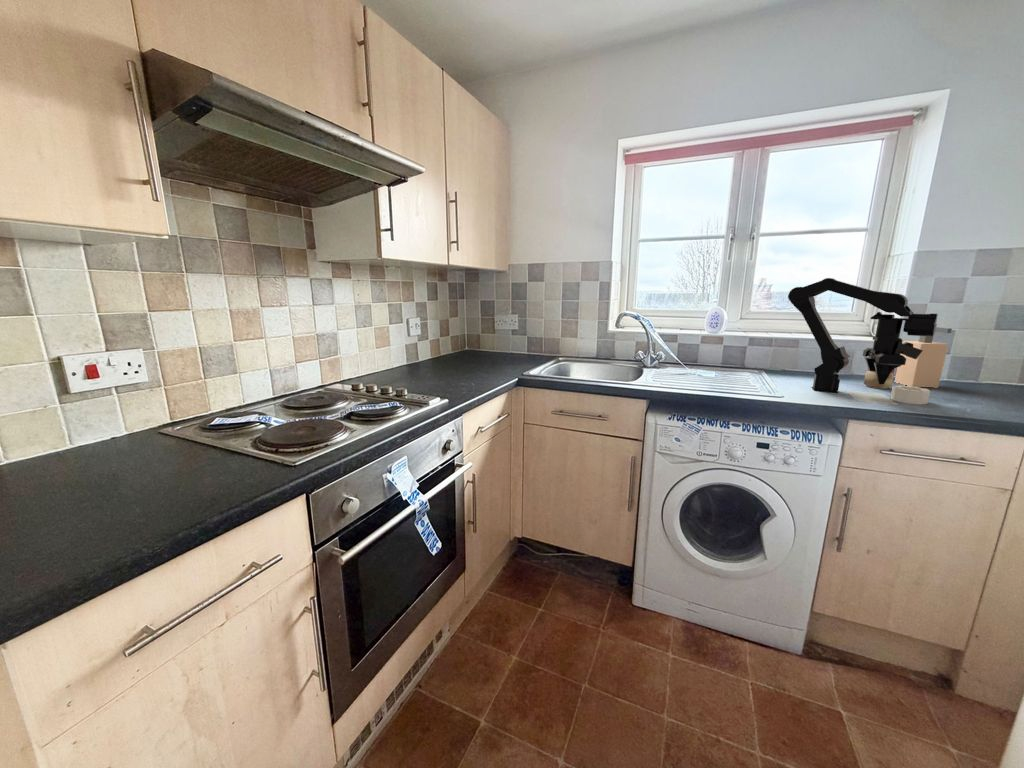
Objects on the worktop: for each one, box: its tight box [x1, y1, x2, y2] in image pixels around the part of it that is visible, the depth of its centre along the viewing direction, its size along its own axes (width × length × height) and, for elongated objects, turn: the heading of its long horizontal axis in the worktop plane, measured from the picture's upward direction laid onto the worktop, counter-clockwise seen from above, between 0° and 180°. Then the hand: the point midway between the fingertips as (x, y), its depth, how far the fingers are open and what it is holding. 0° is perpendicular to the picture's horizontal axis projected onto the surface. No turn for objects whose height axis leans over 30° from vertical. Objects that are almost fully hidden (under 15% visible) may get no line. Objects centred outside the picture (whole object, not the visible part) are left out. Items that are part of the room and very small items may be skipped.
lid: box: [863, 371, 895, 388], centre depth 130 cm, size 7×7×6 cm
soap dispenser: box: [893, 326, 953, 389], centre depth 147 cm, size 13×9×22 cm
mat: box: [845, 389, 899, 406], centre depth 133 cm, size 10×16×1 cm, turn 152°
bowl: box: [889, 384, 931, 405], centre depth 128 cm, size 8×8×4 cm
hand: (877, 382), depth 131 cm, fingers closed on lid, 7 cm apart
